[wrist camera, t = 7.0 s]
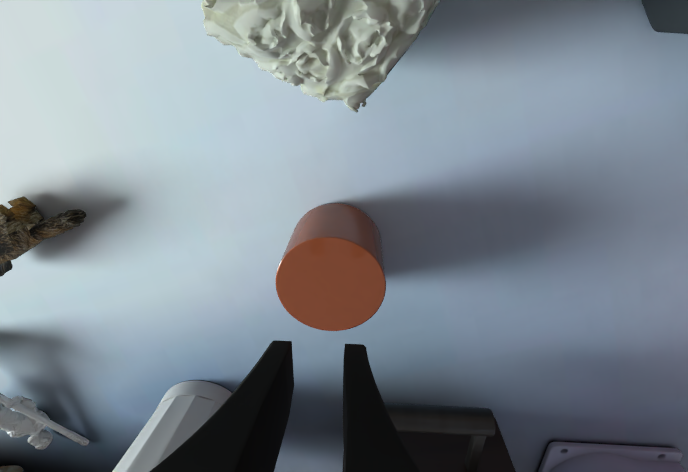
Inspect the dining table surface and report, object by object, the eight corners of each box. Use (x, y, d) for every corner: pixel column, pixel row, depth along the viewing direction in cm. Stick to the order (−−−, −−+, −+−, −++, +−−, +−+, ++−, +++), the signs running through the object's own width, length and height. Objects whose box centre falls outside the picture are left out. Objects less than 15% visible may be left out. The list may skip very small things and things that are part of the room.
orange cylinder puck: (384, 204, 20) (389, 238, 16) (378, 284, 22) (382, 333, 18) (290, 201, 20) (271, 235, 16) (294, 281, 22) (278, 328, 18)
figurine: (-94, 401, 20) (74, 476, 27) (-19, 327, 25) (110, 408, 31) (-150, 417, 22) (24, 485, 28) (-69, 343, 26) (66, 418, 33)
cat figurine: (-101, 234, 18) (-41, 296, 20) (30, 176, 17) (82, 246, 19) (-47, 216, 21) (2, 272, 22) (68, 165, 20) (112, 227, 22)
